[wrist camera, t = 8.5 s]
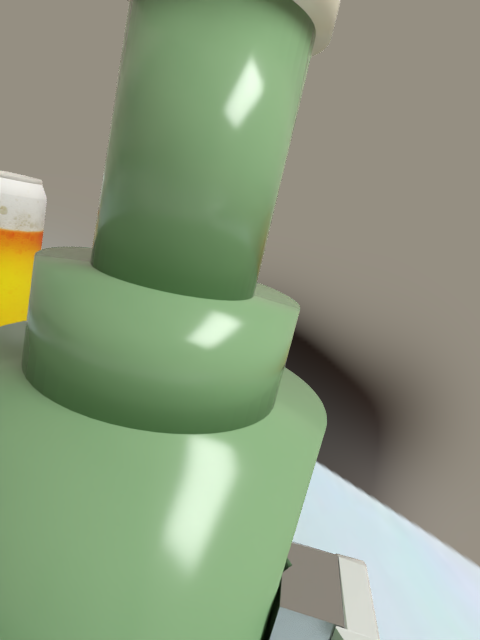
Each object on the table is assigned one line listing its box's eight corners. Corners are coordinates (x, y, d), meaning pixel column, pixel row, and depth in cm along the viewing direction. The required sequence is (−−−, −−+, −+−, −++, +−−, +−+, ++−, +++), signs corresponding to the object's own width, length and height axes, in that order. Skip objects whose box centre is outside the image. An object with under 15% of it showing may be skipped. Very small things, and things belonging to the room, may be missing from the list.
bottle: (-161, 936, 8) (-124, -214, 4) (68, 695, 13) (187, 35, 9) (29, 1277, 6) (458, -432, 2) (223, 839, 11) (471, 49, 7)
